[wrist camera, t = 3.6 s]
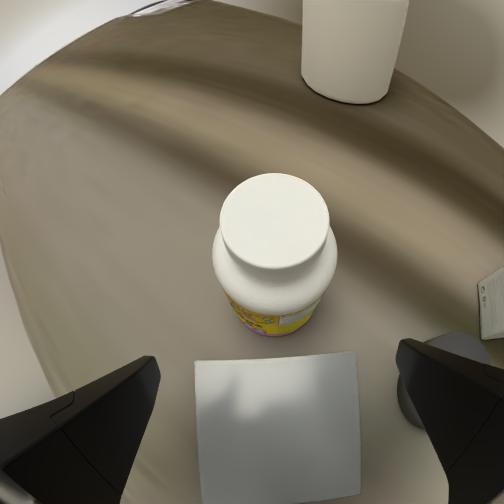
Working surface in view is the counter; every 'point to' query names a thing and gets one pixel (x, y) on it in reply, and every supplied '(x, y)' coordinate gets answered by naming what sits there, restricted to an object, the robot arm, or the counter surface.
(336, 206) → the counter surface
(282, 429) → the grey flat square piece
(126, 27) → the counter surface
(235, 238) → the supplement bottle
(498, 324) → the skincare box
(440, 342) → the dark grey thick disc
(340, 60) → the white jar
